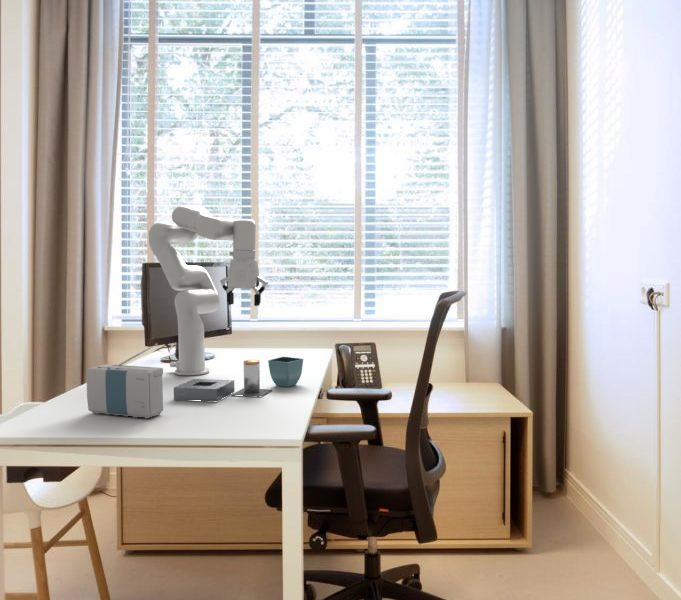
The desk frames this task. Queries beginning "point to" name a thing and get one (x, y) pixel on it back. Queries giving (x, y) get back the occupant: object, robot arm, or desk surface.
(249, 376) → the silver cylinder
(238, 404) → the desk surface
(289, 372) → the flower pot
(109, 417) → the desk surface
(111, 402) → the grey teal equipment box
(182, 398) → the housing
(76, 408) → the desk surface
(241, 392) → the mat
